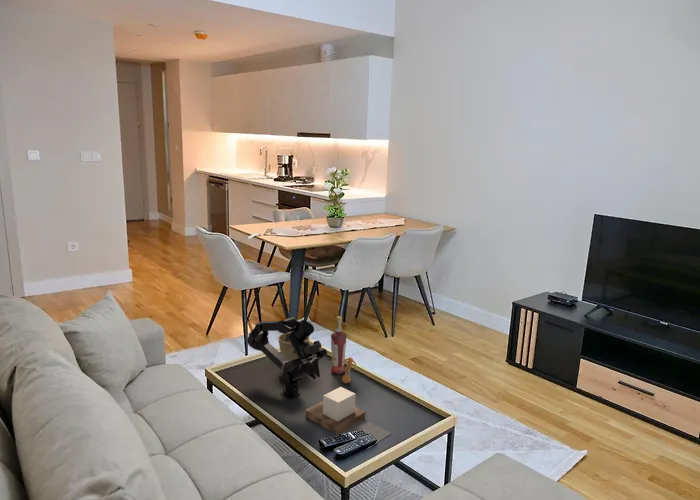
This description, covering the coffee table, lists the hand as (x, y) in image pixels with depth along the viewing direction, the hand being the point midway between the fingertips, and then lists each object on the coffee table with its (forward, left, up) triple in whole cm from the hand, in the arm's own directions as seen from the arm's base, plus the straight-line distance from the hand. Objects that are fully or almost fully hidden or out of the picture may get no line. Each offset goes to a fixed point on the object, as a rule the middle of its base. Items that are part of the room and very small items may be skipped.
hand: (317, 377), depth 209 cm
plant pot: (-34, +18, -14) cm, 41 cm away
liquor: (-16, +30, -14) cm, 37 cm away
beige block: (+13, 0, -11) cm, 16 cm away
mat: (+27, 0, -14) cm, 30 cm away
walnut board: (+11, 0, -14) cm, 17 cm away
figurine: (-6, +26, -14) cm, 30 cm away
